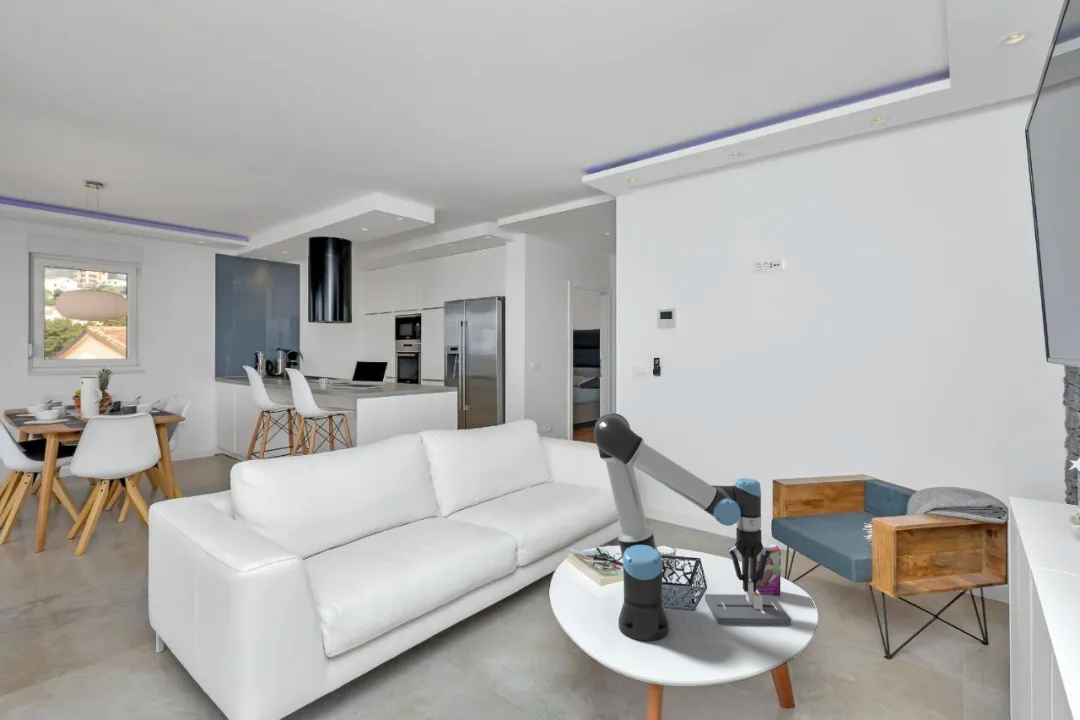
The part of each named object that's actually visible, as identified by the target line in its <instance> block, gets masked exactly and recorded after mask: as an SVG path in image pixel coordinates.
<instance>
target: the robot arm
mask: <svg viewBox="0 0 1080 720" xmlns="http://www.w3.org/2000/svg"><path fill="white" fill-rule="evenodd" d="M593 439H594V442H595V445H596V447H597V449H598V453H599V458H600V459H601V460H602V461H604V462H605V463H606V468H607V473H608V477H609V478H608V479H609V482H610V486H611V491H612V495H613V499H614V505H615V509H616V513H617V518H618V523H619V528H620V533H619V535H618V536H617V539H618V544H619V547H620V552H621V557H622V569H623V570H622V571H623V602H622V603H623V604H622V607H621V610H620V612H619V616H618V629H619V631H620V632H621V633H622V634H623V635H624V636H626V637H629V638H631V639H634V640H638V641H644V642H646V641H647V642H648V641H649V642H650V641H652V642H653V641H657V640H661V639H664V638H665V637H666V636H667V635H669V632H670V622H669V619H668V615H667V612H666V610H665V607H664V606H665V605H664V603H663V596H664V595H663V568H664V564H663V559H662V558H663V557H662V554H661V552H660V551H659V550H658V548H657V544H656V540H655V537H654V536H655V535H654V532H653V530H652V529H650V528H649V527H648V526H647V521H646V516H645V513H644V508H643V503H642V498H641V494H640V490H639V486H638V481H637V477H636V472H635V468H637V469H638V470H640V471H641V472H643V473H644V474H646V475H647V476H649V477H651V478H652V479H654V480H655V481H657V482H659V483H660V484H662V485H663V486H665V487H667V488H668V489H670V490H671V491H673V492H674V493H676V494H678V495H679V496H681V497H683V498H684V499H685V500H687V501H689V502H690V503H692V504H694V505H695V506H697V507H698V508H699V509H701V510H703V511H705V512H706V513H707V514H709V515H710V516H712V517H713V518H714V519H715V520H716V521H717V522H718V523H720V524H721V525H723V526H733V525H736V530H735V531H736V533H735V534H736V537H735V538H736V541H735V543H734V546H733V547H731V548H730V547H729V548H728V549H727V551H728V553H730V556H731V559H732V564H733V566H734V570H735V575H736V577H737V578H738V580H739V581H742V590H743V591H744V592H745V595H746V600H747V601H748V603H753V592H756V583H757V582H758V580H762V579H763V574H764V570H765V566H766V562H767V558H768V556H769V555H770V553H771V552H770V551H769V550H768V549H767V548H764V547H763V545H762V544H763V543H762V536H763V535H762V530H761V529H762V489H761V484H760V482H759V481H758V480H756V479H754V478H753V479H752V478H745V477H744V478H738V479H736V480H735V484H734V485H711V484H709V483H708V482H707V481H704V480H703V479H702V478H700V477H698V476H697V475H695V474H694V473H692V472H691V471H689V470H687V469H686V468H684V467H682V466H681V465H679V464H678V463H676V462H674V461H673V460H671V459H670V458H668V457H666V456H665V455H664V454H661V453H660V452H659V451H657V450H656V449H654V448H653V447H651V446H649V445H648V444H646V443H645V441H644V438H642V436H639V434H637V433H635V432H634V431H633V430H632V429H631V427H630V423H629V422H628V420H627V419H626V417H624V416H623V415H621V414H619V413H615V412H612V413H610V412H609V413H606V414H603V415H602V416H600V417H599V418H598V419H597V420H596V422H595V425H594V431H593ZM634 467H635V468H634ZM760 552H761V556H760V561H759V565H758V569H757V564H756V561H757V556H758V554H759V553H760ZM738 553H739V554H740V555H741V565H740V563H739V560H738V559H739V558H738V556H737V555H738ZM749 557H750V578H751V579H748V561H749ZM740 566H741V567H740Z"/></svg>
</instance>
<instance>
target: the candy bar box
mask: <svg viewBox="0 0 1080 720" xmlns="http://www.w3.org/2000/svg"><path fill="white" fill-rule="evenodd" d="M762 545H763V547H764V548H767V549H768V550H769V551H770V552H771V553H770V555H769V556H768V558H767V562H766V566H765V570H764V574H763V579H762V580H758V582H757V583H756V590H758V592H759V593H760V594H761V595H772V596H773V597H775V596H776V597H780V596H781V548H780V547H779V546H778V545H777V544H769V543H767V544H766V543H762ZM760 556H761V552H760V553H759V554H758V556H757V561H756V564H757V569H758V565H759V561H760ZM748 579H751V578H750V557H749V561H748Z"/></svg>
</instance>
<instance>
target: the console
mask: <svg viewBox="0 0 1080 720" xmlns="http://www.w3.org/2000/svg"><path fill="white" fill-rule="evenodd" d="M761 596H762V605H763V609H754V607H753V606H752V604H751V603H748V601H747V600H746V594H721V593H719V594H717V593H715V594H712V593H711V594H710V593H709V594H707V593H705V594H704V601H705V603H706V604H707V605H706V606H707V607H708V608H709V611H710V612H711V614H712V616H713V618H714V620H715V621H716V623H717V625H741V626H742V625H747V626H748V625H749V626H751V625H752V626H792V618H791V617H790V615H789V614H788V613H787V612H786V611H785V610H784V608H783V607H782V606H781V605H780V603H779V602H778V601H777V600H776V599H775V596H772V595H761Z"/></svg>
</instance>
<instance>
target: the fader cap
mask: <svg viewBox="0 0 1080 720" xmlns="http://www.w3.org/2000/svg"><path fill="white" fill-rule="evenodd" d="M751 604H752V606H753V607H754V609H763V605H762V596H761V594H760V593H759V592H758V590H756V592H753V603H751Z"/></svg>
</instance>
